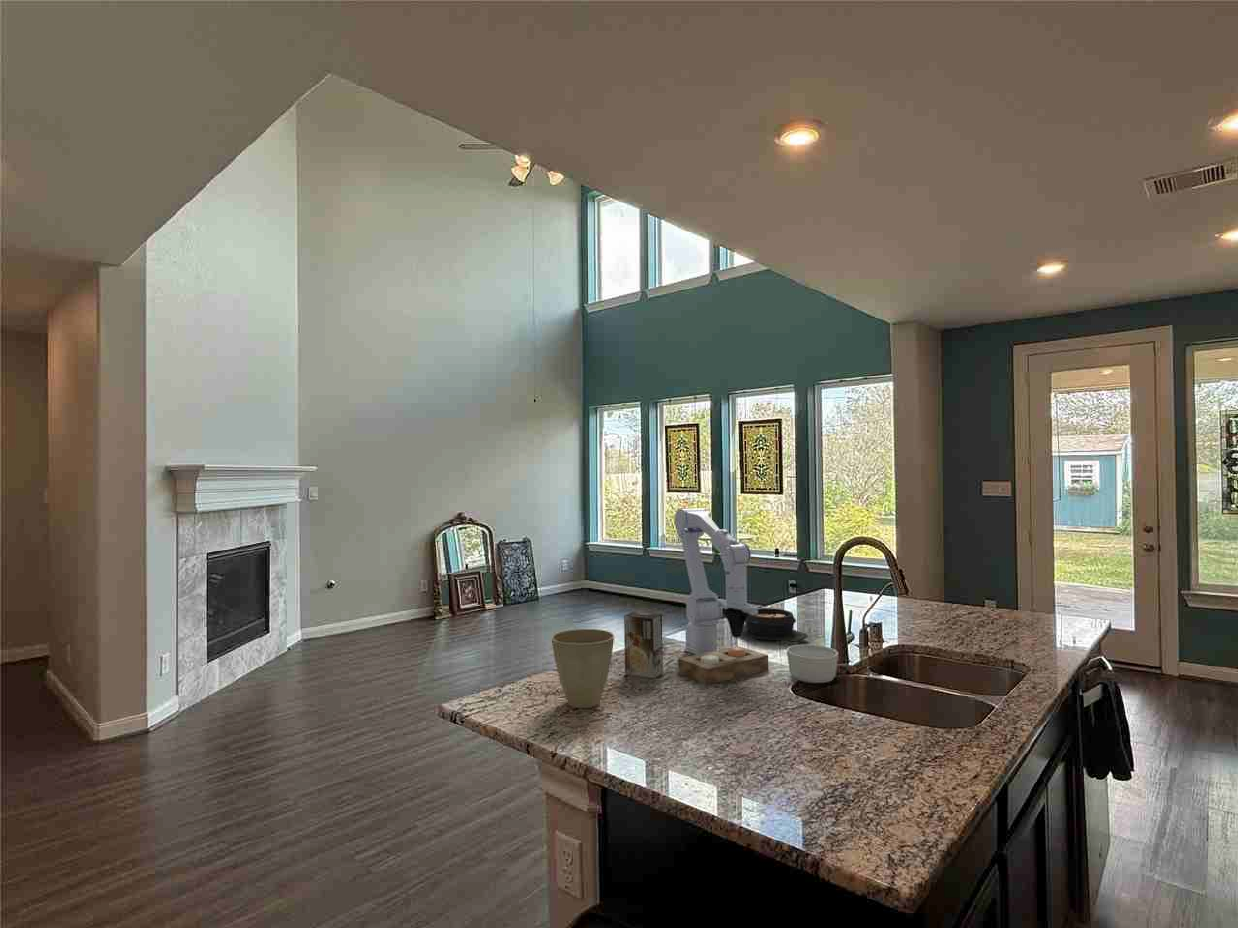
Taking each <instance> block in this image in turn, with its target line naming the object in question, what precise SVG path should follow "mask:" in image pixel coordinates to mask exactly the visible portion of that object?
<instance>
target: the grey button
mask: <svg viewBox="0 0 1238 928" xmlns="http://www.w3.org/2000/svg"><path fill="white" fill-rule="evenodd" d="M701 662H704V663H707V664H713V663H717V662H719V658H718V657H717V656H711V655H707V656H702V657H701Z"/></svg>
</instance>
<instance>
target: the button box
mask: <svg viewBox="0 0 1238 928" xmlns="http://www.w3.org/2000/svg"><path fill="white" fill-rule="evenodd" d="M733 647H741V646H739V645H735V646H733ZM728 648H729V647H726V648H720V649H717V650H715V651H711V652H706V653H701V654H696V655H695V654H693V655H688V656H682V657H678V659H677V660H678V674H680V675H682V676H685V677H688V678H691V680H692V679H693V680H695V681H698V682H701V683H702V684H706V685H713V684H716V683H721V682H725V681H728V680H729V681H730V680H733V679H737V678H740V677H741V678H742V677H744V676H748V675H752V674H753V675H754V674H758V673H760V672H764V671H769V655H768V654H766V653H762V652H759V651H756V650H752V649H749V648H746V647H744V648H745V649H746V656H744V657H739V658H735V657H732V656H729V655H728ZM707 655H711V656H717V657H718V658H719V662H717V663H713V664H707V663H704V662H701V657H702V656H707Z"/></svg>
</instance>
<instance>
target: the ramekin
mask: <svg viewBox="0 0 1238 928" xmlns="http://www.w3.org/2000/svg"><path fill="white" fill-rule="evenodd" d="M786 655H787V661H788V670H789V673H790V675H791V676H792V677H793V678H794V679H795V680H798V681H800V682H803V683H804V682H805V683H811V684H821V683H822V684H824V683H829V682H832V681H833V680H834V679H835V677H836V673H837V665H838V660H839V652H838V651H837V650H836V649H835V648H831V647H828V646H824V645H818V644H796V645H791V646H788V647H787V648H786Z"/></svg>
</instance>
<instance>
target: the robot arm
mask: <svg viewBox="0 0 1238 928" xmlns="http://www.w3.org/2000/svg"><path fill="white" fill-rule="evenodd" d="M674 526H675V530H676V533H677V537H678V538H680V541H681V542H680V543H681V546H682V550H683V556H684V560H685V565H686V569H687V573H688V574H687V575H688V578H689V584H690V587H691V593H690V594H689V595H688V596H687V598H686V599H685V606H686V608H685V610H686V611H685V612H686V613H685V614H686V618H687V619H688V621H689V622H688V623H687V625H686V626H685V648H683V651H684V652H687V653H689V654H693V655H696V654H701V653H706V652H711V651H715V650H718V649H717V647H718V646H717V644H718V643H717V624H719V621H720V620H721V619H722V617H723V614H724V616H725V618H726V620H727V622H728V625H729V627H730V632H731V636H732V637H733V638H739V637H741V636H742V629H743V626H744V625H745V624H746V623H745V621H746V619H747V617H748V615H749V614H750V615H757V614H758V609H759V606H755V605H752V604H750V603H748V601H747V600H748V597H747V595H748V592H747V590H748V589H747V586H748V585H747V583H748V581H747V577H748V576H747V565H748V564H750V563H749V562H750V561H751V559H752V558H751V557H752V553H751V549H750V548H749V546H748V544H747V543H745V542H744V543H743V542H742V543H741V542H738V541H737V539H735V538H734V537H733V536H732V535H731V534H730V533H729V531H728V529H723V528H722V529H720V528H719V526H718V525H717V524H716V523H715V522H714V521H713V519H712V513H711V511H709V509H708V508H706V507H702V508H701V507H698V508H697V507H696V508H678V509H677V511H676V513H675V516H674ZM705 534H706V535H707V536H709V537H710V542H711V545H712V546H713V547H714V548H715V549H716V550H717V551H718V553H720V558H721V561H722V564H723V570H724V572H725V599H724V598H719V597H718V595H717V593H715V592H714V591H712V590H711V589H709V584H708V579H707V574H706V570H705V566H704V561H703V557H702V552H701V548H700V543H699V538H701V537H703V536H704V535H705ZM723 608H725V609H726V610H724V611H723Z"/></svg>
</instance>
